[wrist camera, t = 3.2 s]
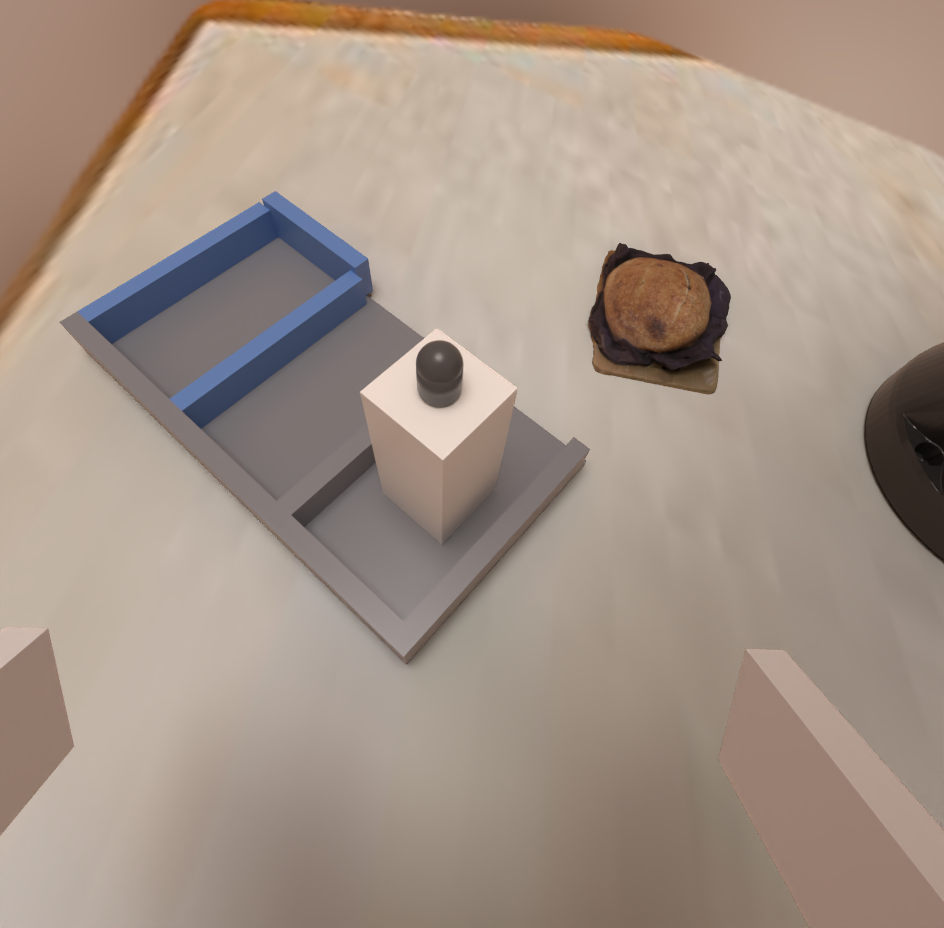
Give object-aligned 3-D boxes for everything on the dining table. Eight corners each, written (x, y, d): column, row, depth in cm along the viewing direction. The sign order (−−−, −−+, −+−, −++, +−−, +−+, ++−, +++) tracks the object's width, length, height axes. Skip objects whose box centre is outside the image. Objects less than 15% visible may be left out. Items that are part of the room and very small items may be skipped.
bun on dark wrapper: (718, 405, 32) (749, 368, 29) (578, 375, 33) (593, 335, 29) (721, 274, 37) (748, 229, 34) (598, 249, 37) (613, 203, 34)
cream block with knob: (437, 441, 29) (436, 283, 19) (495, 488, 28) (526, 348, 18) (383, 493, 28) (350, 351, 18) (441, 544, 27) (443, 425, 16)
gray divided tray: (281, 226, 36) (269, 187, 33) (589, 458, 30) (604, 431, 27) (85, 351, 31) (53, 315, 28) (406, 664, 24) (402, 655, 22)
